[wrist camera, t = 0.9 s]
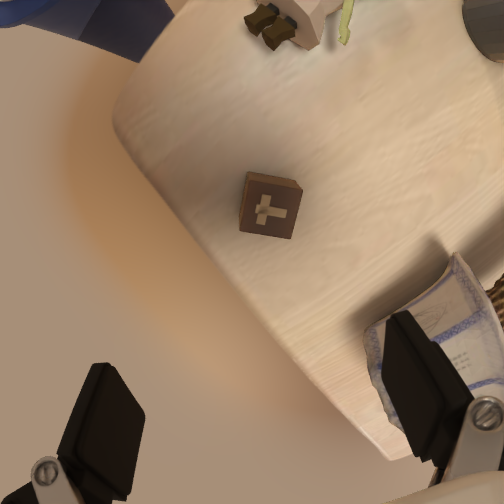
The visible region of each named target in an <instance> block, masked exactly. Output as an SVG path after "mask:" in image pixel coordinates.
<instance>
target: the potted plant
mask: <svg viewBox="0 0 504 504" xmlns="http://www.w3.org/2000/svg"><path fill="white" fill-rule="evenodd" d="M404 310H409V312H410V313H411V314H412V315H413V317H414V318H415V320H416V321H417V322H418V324H419V325H420V327H421V328H422V329H423V331H424V332H425V334H426V335H427V337H428V338H429V339H430V341H435V342H437V343H438V344H439V345H440V347H441V348H442V349H443V351H444V352H445V354H446V355H447V357H448V358H449V360H450V361H451V363H452V364H453V365H454V367H455V368H456V370H457V371H458V373H459V374H460V376H461V378H462V379H463V381H464V382H465V384H466V385H467V387H468V388H469V390H470V391H471V393H472V395H473V396H474V398H475V399H476V398H478V397H481V396H493V397H496V398H498V399H500V400H501V401H502V402H503V403H504V273H503V275H502V277H501V278H500V279H499V280H497V281H496V283H495V285H494V287H493V288H492V289H489V290H487V291H485V290H484V289H483V287H482V286H481V284H480V282H479V281H478V279H477V278H476V277H475V275H474V274H473V272H472V270H471V269H470V267H469V266H468V265H467V264H466V263H465V261H464V260H463V259H462V257H461V256H460V255H459V253H458V252H455V253H454V252H453V254H452V256H450V258H449V262H448V266H447V268H446V270H445V272H444V273H443V275H442V276H441V277H440V278H439V280H438V281H437V282H436V283H435V284H433V285H432V286H431V287H430V288H428V289H427V290H425V291H424V292H423V293H421V294H420V295H419V296H417V297H416V298H414V299H413V300H411V301H410V302H409V303H407V304H406V305H404V306H403V307H401V308H399V309H398V310H396V311H394V312H393V313H396V312H400V311H404ZM393 313H391V314H393ZM391 314H390V315H388V316H386V317H385V318H383V319H381V320H379V321H377V322H376V323H374V324H372V325H370V326H369V327H367V328H366V329H365V333H364V337H363V343H364V347H365V350H366V354H367V366H368V372H369V375H370V379H371V382H372V385H373V386H374V387H375V388H376V389H377V391H378V394H379V396H380V399H381V401H382V404H383V407H384V411H385V412H386V414H387V416H388V420H389V422H390V423H391V424H392V425H394V426H396V427H397V428H399V429H400V430H401V431H402V432H403V433H404V434H405V432H404V430H403V428H402V425H401V423H400V421H399V418H398V416H397V414H396V411H395V409H394V407H393V405H392V402H391V400H390V398H389V395H388V393H387V391H386V389H385V387H384V384H383V382H382V378H381V368H382V359H383V350H384V339H385V327H386V320H387V319H390V316H391Z"/></svg>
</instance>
